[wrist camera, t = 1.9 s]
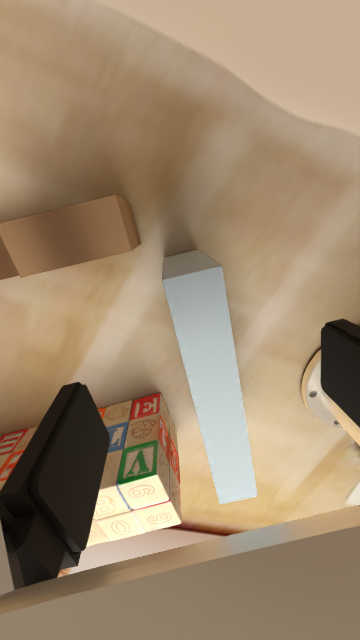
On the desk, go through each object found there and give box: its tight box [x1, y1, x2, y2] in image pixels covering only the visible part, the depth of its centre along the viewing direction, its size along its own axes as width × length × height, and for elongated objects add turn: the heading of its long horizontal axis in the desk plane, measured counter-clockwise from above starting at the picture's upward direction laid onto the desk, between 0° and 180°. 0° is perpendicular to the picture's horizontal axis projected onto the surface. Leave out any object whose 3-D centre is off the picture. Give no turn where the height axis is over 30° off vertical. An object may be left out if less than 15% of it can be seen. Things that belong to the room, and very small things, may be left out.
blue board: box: [162, 250, 257, 504], centre depth 19 cm, size 18×3×9 cm, turn 13°
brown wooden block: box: [0, 195, 141, 280], centre depth 16 cm, size 18×3×6 cm, turn 103°
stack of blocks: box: [0, 393, 181, 578], centre depth 21 cm, size 21×6×12 cm, turn 106°
